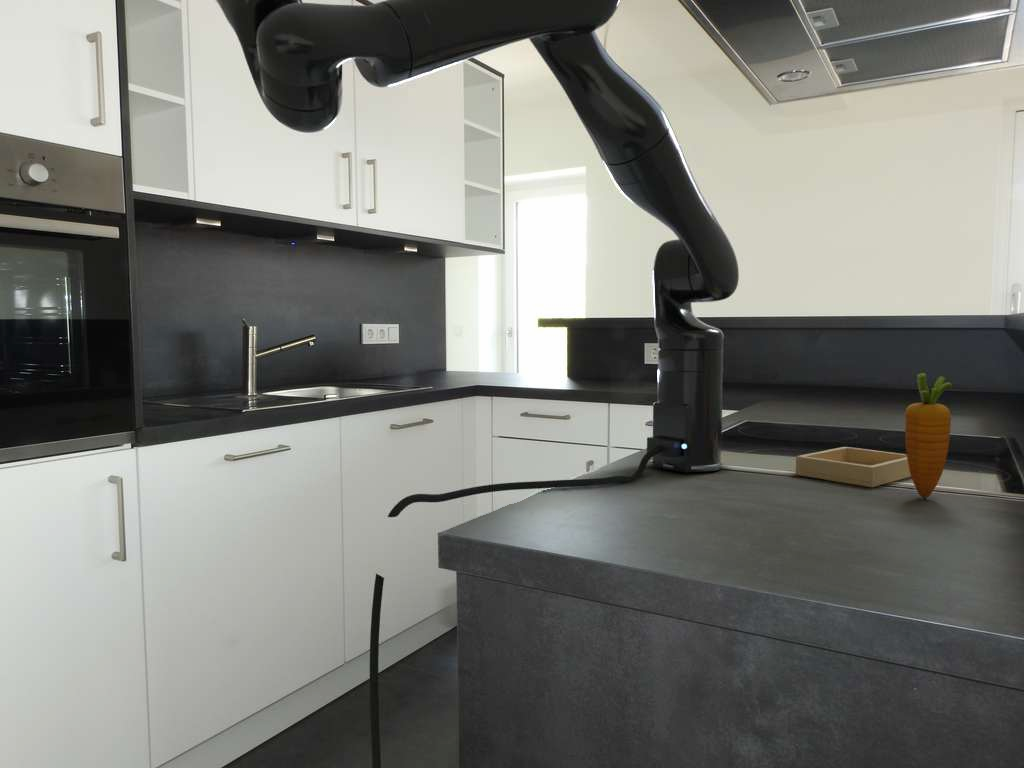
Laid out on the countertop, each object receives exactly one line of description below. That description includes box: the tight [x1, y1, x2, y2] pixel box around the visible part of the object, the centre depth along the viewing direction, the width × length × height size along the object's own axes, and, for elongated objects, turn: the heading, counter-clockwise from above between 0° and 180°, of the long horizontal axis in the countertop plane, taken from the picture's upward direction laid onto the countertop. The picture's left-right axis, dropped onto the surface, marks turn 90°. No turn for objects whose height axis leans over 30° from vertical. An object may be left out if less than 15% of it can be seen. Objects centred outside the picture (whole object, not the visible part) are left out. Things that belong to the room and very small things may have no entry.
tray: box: [795, 446, 912, 488], centre depth 100 cm, size 14×11×3 cm
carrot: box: [904, 372, 953, 500], centre depth 85 cm, size 5×5×15 cm
